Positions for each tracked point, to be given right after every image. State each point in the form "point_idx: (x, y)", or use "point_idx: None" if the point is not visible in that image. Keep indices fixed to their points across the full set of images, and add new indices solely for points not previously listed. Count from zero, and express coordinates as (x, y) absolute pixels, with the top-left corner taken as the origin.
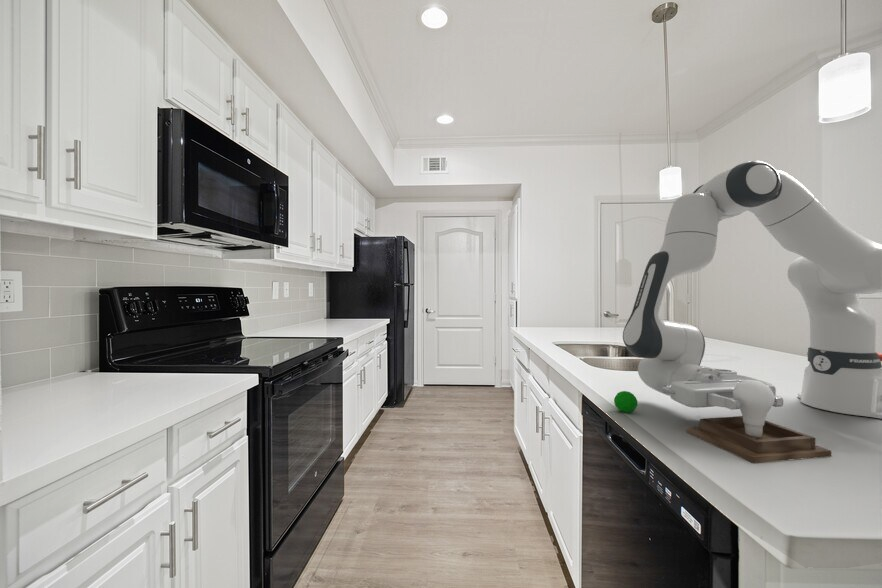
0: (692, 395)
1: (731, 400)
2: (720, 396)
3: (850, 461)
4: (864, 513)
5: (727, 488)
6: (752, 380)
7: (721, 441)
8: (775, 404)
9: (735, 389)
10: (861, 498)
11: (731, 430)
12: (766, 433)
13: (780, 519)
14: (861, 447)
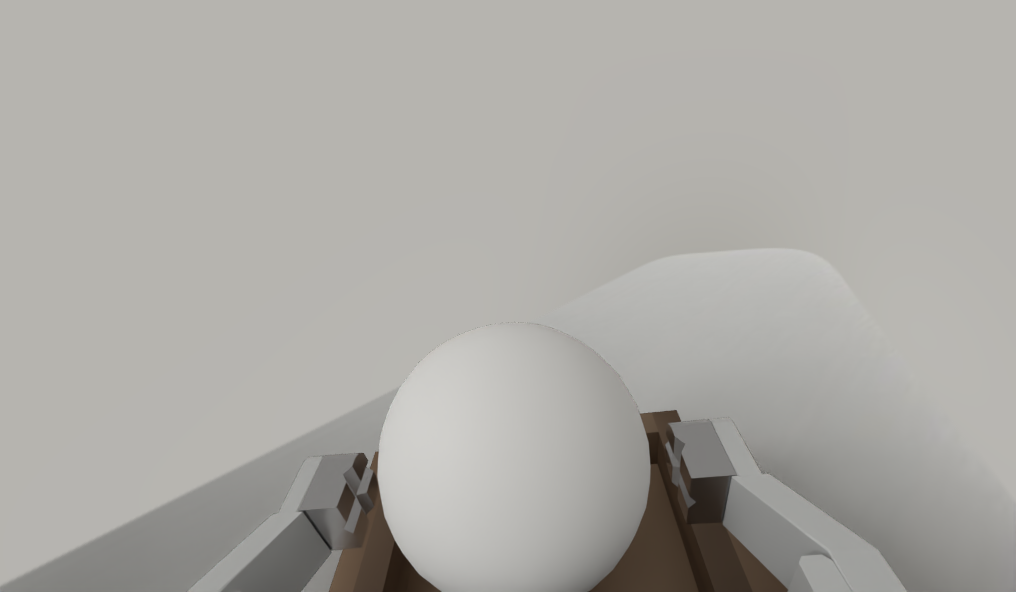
0: None
1: (735, 426)
2: (797, 503)
3: (375, 433)
4: (629, 280)
5: (878, 326)
6: (502, 351)
7: (774, 578)
8: (370, 484)
9: (634, 462)
10: (580, 308)
11: (715, 544)
12: None
13: (803, 263)
14: (173, 522)
